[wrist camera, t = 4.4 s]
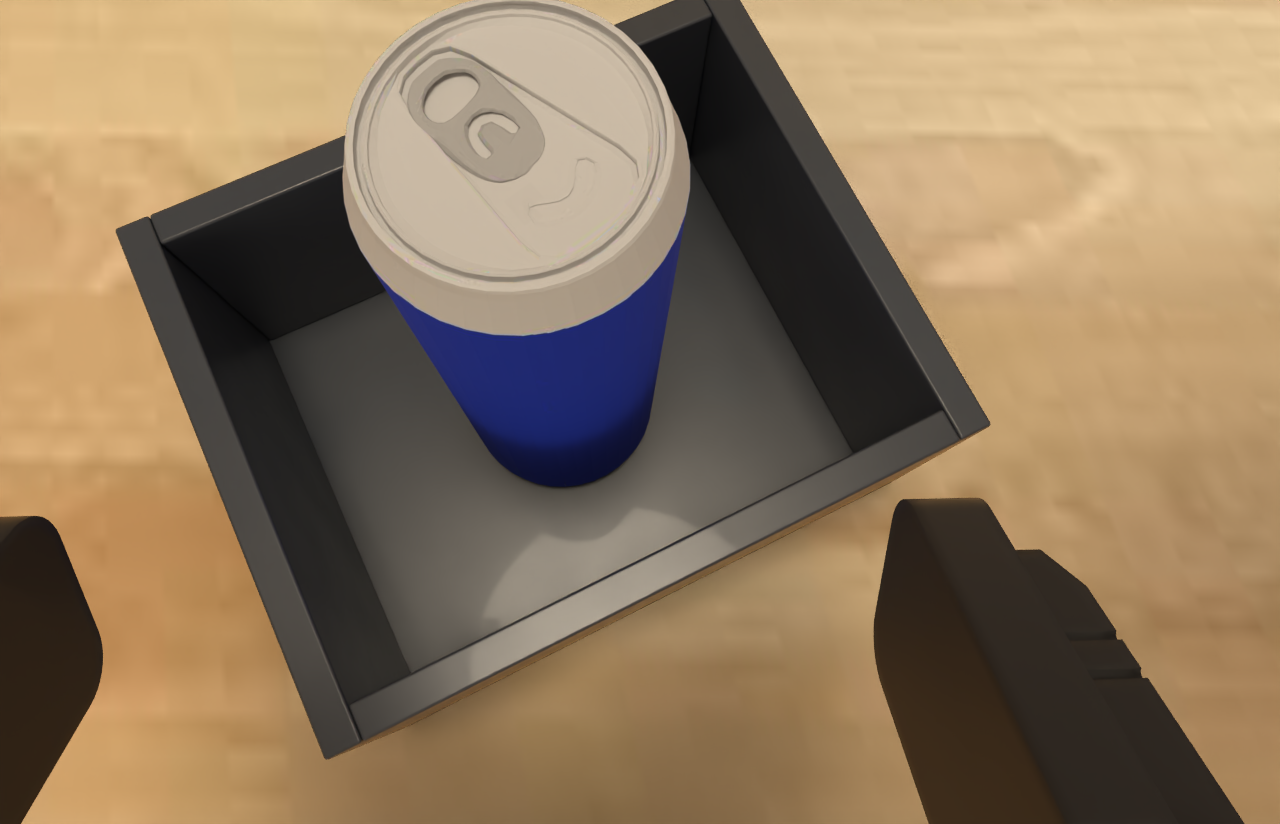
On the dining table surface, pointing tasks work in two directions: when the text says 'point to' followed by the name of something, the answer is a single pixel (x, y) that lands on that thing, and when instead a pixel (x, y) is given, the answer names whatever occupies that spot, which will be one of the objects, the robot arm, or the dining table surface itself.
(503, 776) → the dining table surface
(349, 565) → the dark grey open box
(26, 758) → the robot arm
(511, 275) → the beverage can
